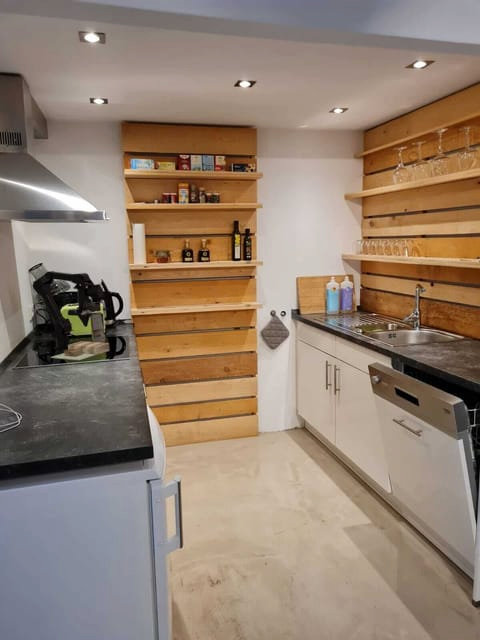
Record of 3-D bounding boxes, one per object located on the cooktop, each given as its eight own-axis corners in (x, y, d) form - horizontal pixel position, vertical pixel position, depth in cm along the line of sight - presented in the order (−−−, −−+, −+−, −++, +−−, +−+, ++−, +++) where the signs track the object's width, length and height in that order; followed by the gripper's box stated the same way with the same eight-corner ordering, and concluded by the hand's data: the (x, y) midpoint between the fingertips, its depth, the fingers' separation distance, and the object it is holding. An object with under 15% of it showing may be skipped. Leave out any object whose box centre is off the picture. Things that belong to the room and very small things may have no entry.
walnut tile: (71, 348, 244) (71, 353, 244) (64, 351, 239) (64, 355, 239) (82, 349, 241) (82, 354, 241) (75, 351, 236) (75, 356, 237)
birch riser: (68, 352, 249) (68, 345, 248) (82, 348, 258) (81, 341, 257) (96, 354, 242) (95, 347, 241) (109, 350, 251) (108, 343, 250)
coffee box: (105, 341, 275) (103, 313, 273) (94, 342, 273) (91, 314, 270) (102, 338, 284) (100, 311, 281) (91, 340, 281) (89, 312, 279)
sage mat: (51, 357, 238) (51, 357, 238) (67, 353, 248) (67, 352, 248) (79, 360, 231) (79, 359, 231) (95, 355, 241) (94, 354, 241)
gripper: (82, 299, 241) (84, 330, 243) (107, 295, 258) (109, 324, 260) (65, 299, 246) (68, 329, 248) (91, 295, 262) (93, 323, 265)
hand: (85, 326), depth 255 cm, fingers closed
